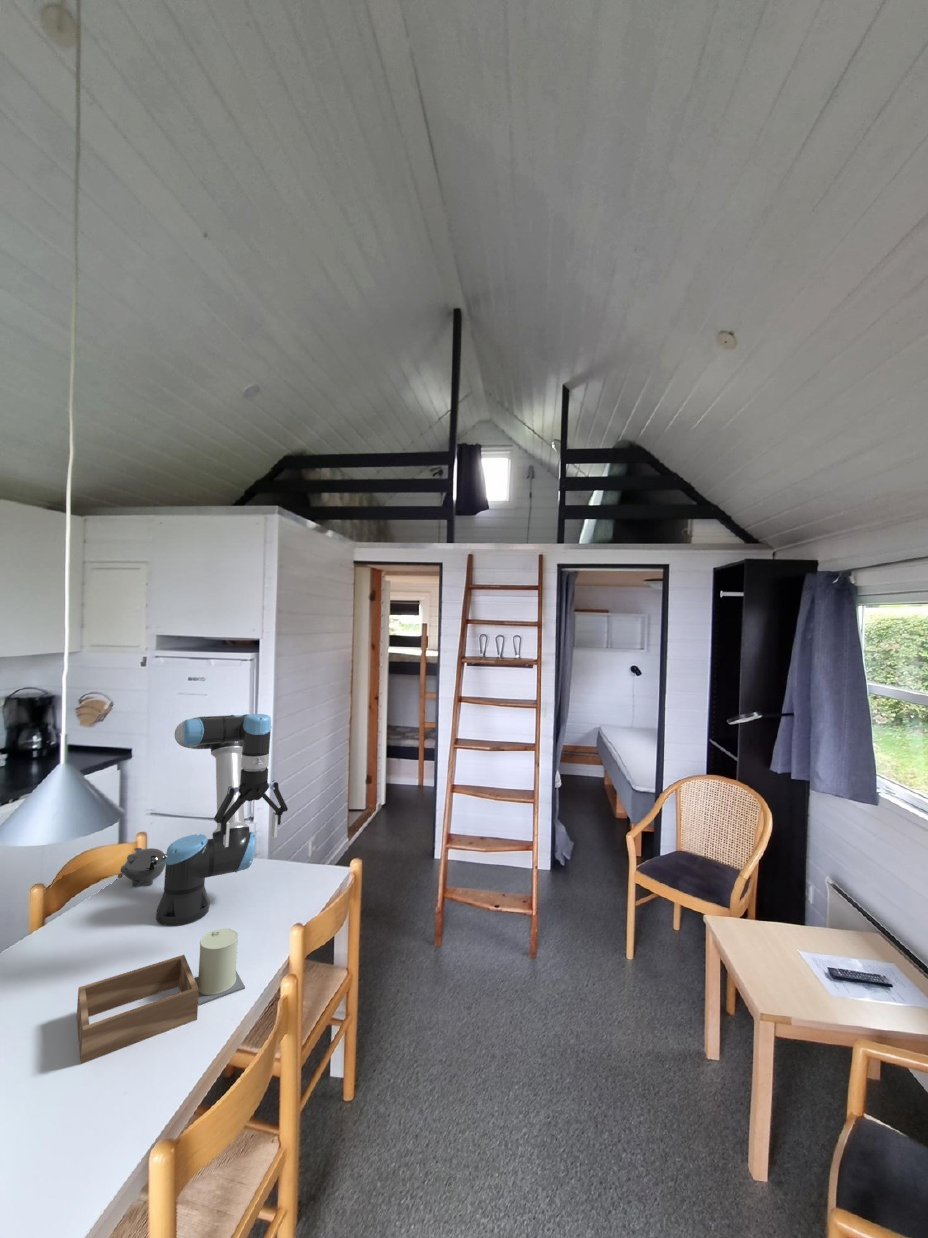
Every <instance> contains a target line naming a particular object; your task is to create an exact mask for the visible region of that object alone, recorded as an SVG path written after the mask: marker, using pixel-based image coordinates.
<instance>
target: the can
mask: <svg viewBox="0 0 928 1238" xmlns="http://www.w3.org/2000/svg"><path fill="white" fill-rule="evenodd" d="M238 942H239V932H237V931H236V930H235V929H231V928H220V929H215V930H212V931H210V932H208V933H206V934H205V935H203V936H202V938H200V940H199V961H198V962H199V963H198V976H197V977H198V984H197V986H198V989H199V992H200V993H201V994H204V995H216V994H220V993H223V992H225V991H227V990H228V989H230V988H231V987H232V986H233V985H234V984H235V982H236V971H237V959H238V958H237V957H238V956H237V955H238V954H237V953H238Z"/></svg>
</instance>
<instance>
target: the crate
mask: <svg viewBox="0 0 928 1238" xmlns="http://www.w3.org/2000/svg"><path fill="white" fill-rule="evenodd" d="M194 978H195V977H194V974H193V972H192V969H191V967H190V964H189V963H188V960H187V958H186V955H185V954H181V955H179V956H175V957H172V958H169V959H165V960H163V961H162V960H161V961H159V962H157V963H153V964H150V965H145V966H143V967H141V968H136V969H134V970H130V971H127V972H124V973H121V974H117V975H114V976H111V977H108V978H104V979H102V980H98V981H95V982H91V983H88V984H86V985H82V986H79V987H78V989H77V990H78V992H77V1003H76V1004H77V1008H76V1025H77V1026H76V1027H77V1038H78V1049H79V1060H80V1065H82V1064H85V1063H87V1062H90V1061H92V1060H95V1059H98V1058H100V1057H103V1056H105V1055H108V1054H111V1053H114V1052H116V1051H118V1050H121V1049H125V1048H126V1047H129V1046H132V1045H135V1044H137V1043H140V1042H141V1041H142V1042H143V1041H144V1040H147V1039H150V1038H153V1037H155V1036H158V1035H160V1034H163V1033H165V1032H168V1031H171V1030H173V1029H177V1028H179V1027H181V1026H183V1025H186V1024H189V1023H191V1022H194V1021H196V1020H198V1010H199V1006H198V995H199V989H198V986H197V984H196V981H195V979H194ZM177 987H178V989H179V990H180V992H178V993H176V994H172V995H170V996H166V997H164V998H161V999H158V1000H155V1001H153V1002H150V1003H147V1004H144V1005H142V1006H139V1007H135V1008H133V1009H130V1010H127V1011H123V1012H121V1013H118V1014H116V1015H113V1016H109V1017H106V1018H103V1019H101V1020H98V1021H95V1022H92V1023H90V1020H89V1019H90V1018H89V1017H91V1016H95V1015H97V1014H98V1015H99V1014H101V1013H103V1012H106V1011H109V1010H113V1009H115V1008H118V1007H121V1006H124V1005H127V1004H130V1003H133V1002H135V1001H138V1000H141V999H145V998H148V997H150V996H153V995H157V994H159V993H162V992H164V991H168V990H171V989H174V988H177Z"/></svg>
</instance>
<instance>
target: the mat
mask: <svg viewBox="0 0 928 1238" xmlns="http://www.w3.org/2000/svg"><path fill="white" fill-rule="evenodd" d="M194 979H195V981H196V984H198V976H195V977H194ZM244 989H246V986H245V985H244V982H243V980H242V979H241V977H240V975H239V973H238V971H237V970H236V982H235V984H234V985H233V986H232V987H231V988H230V989H228V990H227V991H225V992H223V993H220V994H216V995H204V994H201V993H200V992H199V995H198V1007H199V1006H201V1005H203V1004H204V1005H205V1004H206V1003H209V1002H213V1001H215V1000H218V999H220V998H223V997H226V996H228V995H231V994H233V993H237V992H239V991H241V990H244Z"/></svg>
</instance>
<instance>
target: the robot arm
mask: <svg viewBox="0 0 928 1238" xmlns="http://www.w3.org/2000/svg"><path fill="white" fill-rule="evenodd" d="M271 731H272V719H271V716H270V715H268V714H264V713H252V714H249V713H246V714H245V713H244V714H242V715H238V714H237V715H234V714H231V715H230V714H229V715H213V716H212V715H210V716H208V715H207V716H198V717H197V716H196V717H193V718H189V719H186V720H182V722H180V723H179V724H178V725H177V726H176V728H175V730H174V739H175V742H177V744H178V745H179V746H180V747H183V748H186V749H192V750H193V749H194V750H210V755H211V756H213V757H214V759H215V783H216V784H215V785H216V814H215V815H214V817H213V820H214V821H215V823H216V825H217V827H216V828H215V829H214V831H213V832H212V838H208V837H207V835H205V834H201V833H200V834H197V833H196V834H190V835H187V836H183V837H181V838H177V840H175V841H173V842H172V843H170V844H169V846H168V847H167V849H166V853H165V854H166V859H165V868H164V870H165V872H164V884H163V886H164V887H163V893H162V895H161V899H160V901H159V903H158V906H157V908H156V912H155V920H156V922H157V923H158V924H161V925H163V926H169V927H171V926H172V927H173V926H174V927H175V926H177V927H178V926H182V925H183V926H184V925H188V924H191V923H194V922H197V921H198V920H200V919H202V918H203V917H205V916H206V915H207V914H208V912H209V911H210V898H209V896H208V893H207V889H206V886H205V883H206V881H205V880H206V878H210V877H215V876H221V875H226V874H233V873H238V872H240V871H245V870H248V869H249V868H250V867H251V866H252V864H253V861H254V858H255V853H256V844H257V843H256V842H257V841H256V834H255V832H253V831H250V826H249V825H248V824H247V823H246V822H245V809H244V808H245V803H246V802H253V801H259V800H261V799H263V800H264V801H265V802H266V803H267V804H268V806H270V808H271V809H272V810H273V811H274V812H272V814H271V815H272V817H271V833H270V834H271V836H272V837H273V838H277V837H278V826H280V825H281V822H282V821H281V820H282V819H281V818H282V815H283V813H284V812H287V811H288V810H289V808H288V807H287V804H286V802H285V800H284V798H283V796H282V793H281V791H280V788H279V782H277V781H276V780H275V779H274V780H272V781H271V782H268V780H269V779H268V778H269V768H268V767H269V764H270V763H269V760H270V745H271V744H270V743H271ZM269 788H270V790H272V791H273V793H274V796H275V798H276V800H277V802H278V804H279V806H278V805H276V804H275V803H274V802H273V801H272V799H271V798H270V797H269V796H268V795H267V794H266V792H267V790H268V789H269Z"/></svg>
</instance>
